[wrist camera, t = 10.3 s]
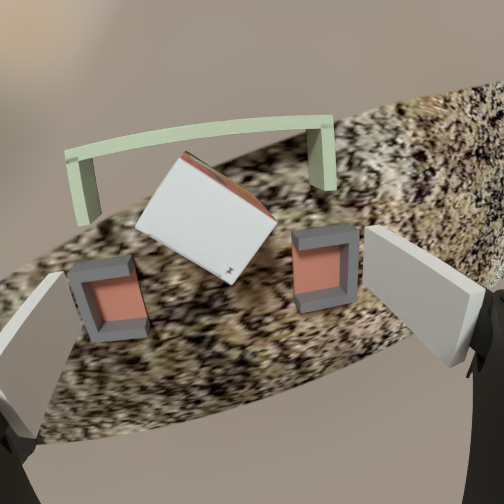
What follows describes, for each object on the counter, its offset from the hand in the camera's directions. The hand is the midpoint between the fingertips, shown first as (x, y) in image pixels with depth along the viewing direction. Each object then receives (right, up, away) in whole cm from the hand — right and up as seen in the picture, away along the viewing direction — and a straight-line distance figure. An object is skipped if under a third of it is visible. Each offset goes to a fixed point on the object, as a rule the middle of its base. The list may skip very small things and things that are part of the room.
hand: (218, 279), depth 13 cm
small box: (-3, +6, +17) cm, 19 cm away
